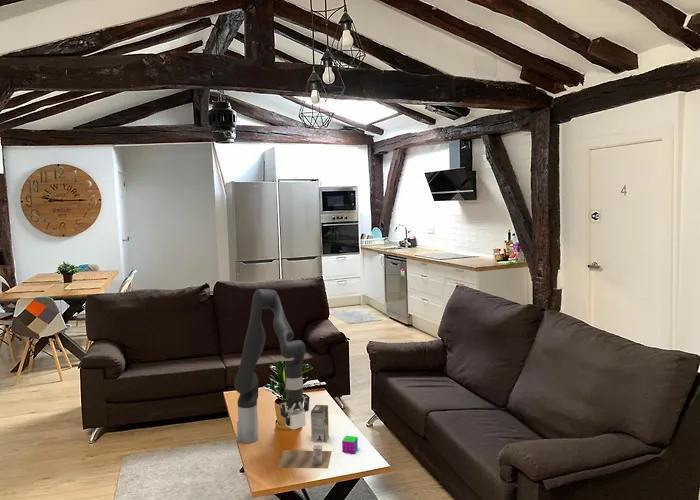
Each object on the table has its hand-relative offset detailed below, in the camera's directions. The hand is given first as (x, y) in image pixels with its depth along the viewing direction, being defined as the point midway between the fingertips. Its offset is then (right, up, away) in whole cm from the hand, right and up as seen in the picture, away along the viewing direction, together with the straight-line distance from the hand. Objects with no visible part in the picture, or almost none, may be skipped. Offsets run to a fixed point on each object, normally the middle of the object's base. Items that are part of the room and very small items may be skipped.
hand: (295, 423), depth 240 cm
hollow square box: (0, -1, 0) cm, 1 cm away
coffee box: (+10, -16, +23) cm, 30 cm away
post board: (+4, -18, +2) cm, 18 cm away
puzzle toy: (+24, -17, +12) cm, 32 cm away
